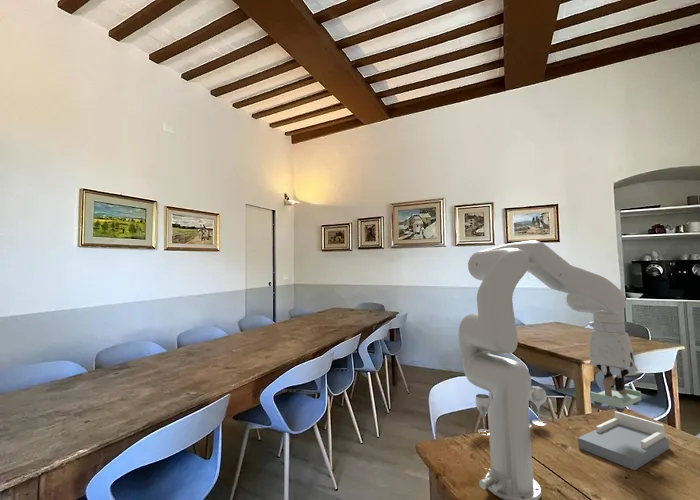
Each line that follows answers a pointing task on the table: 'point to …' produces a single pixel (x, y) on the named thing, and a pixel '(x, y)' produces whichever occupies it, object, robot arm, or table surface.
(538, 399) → the goblet set
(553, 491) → the table surface
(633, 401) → the mint green tray
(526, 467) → the robot arm
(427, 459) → the table surface
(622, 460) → the dock
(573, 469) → the table surface
